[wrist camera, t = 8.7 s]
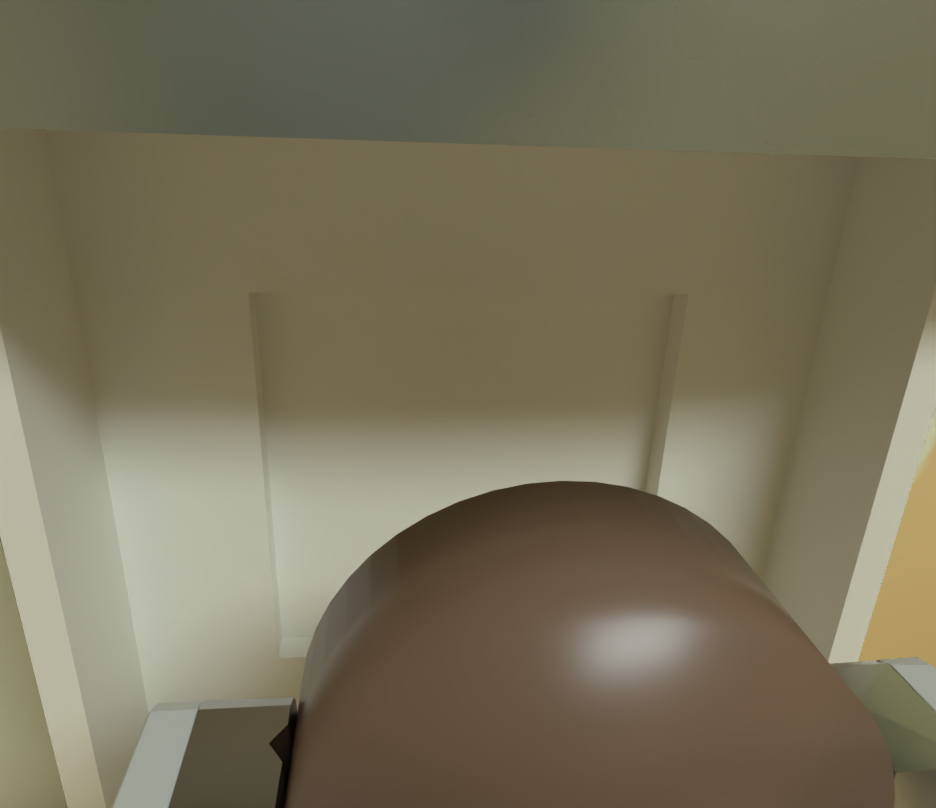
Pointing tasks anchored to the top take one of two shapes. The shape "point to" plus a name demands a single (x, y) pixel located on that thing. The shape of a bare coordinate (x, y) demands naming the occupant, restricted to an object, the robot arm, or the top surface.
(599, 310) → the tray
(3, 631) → the top surface
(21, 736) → the top surface
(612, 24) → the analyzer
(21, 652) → the top surface
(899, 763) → the robot arm
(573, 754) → the puck
